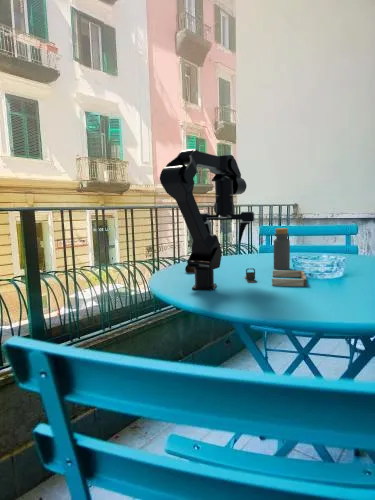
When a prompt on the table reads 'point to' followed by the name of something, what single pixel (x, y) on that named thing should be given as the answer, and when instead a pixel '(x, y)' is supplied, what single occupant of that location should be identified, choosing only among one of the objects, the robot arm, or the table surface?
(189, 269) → the sweet potato
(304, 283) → the display frame
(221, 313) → the table surface
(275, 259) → the bottle
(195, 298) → the table surface
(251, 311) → the table surface
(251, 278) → the strap clip
